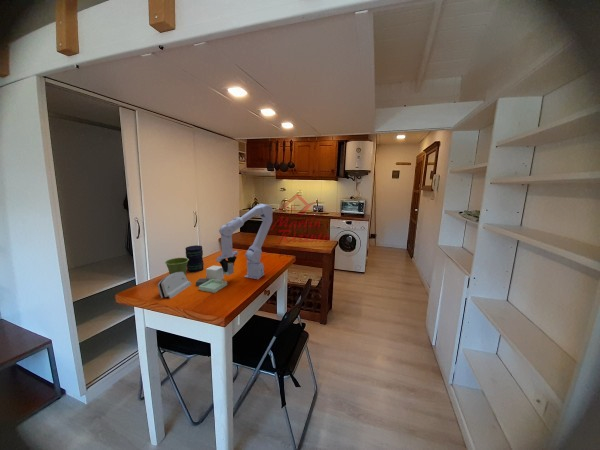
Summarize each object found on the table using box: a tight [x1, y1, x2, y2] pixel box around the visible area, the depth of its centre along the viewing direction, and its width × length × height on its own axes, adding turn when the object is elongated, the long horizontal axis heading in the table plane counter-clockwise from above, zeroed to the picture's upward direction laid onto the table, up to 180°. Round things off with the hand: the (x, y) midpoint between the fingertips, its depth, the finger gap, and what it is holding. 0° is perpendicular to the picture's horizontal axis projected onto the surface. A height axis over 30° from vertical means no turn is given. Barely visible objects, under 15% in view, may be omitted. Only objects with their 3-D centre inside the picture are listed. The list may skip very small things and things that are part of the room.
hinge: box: [157, 272, 192, 300], centre depth 114 cm, size 17×5×10 cm, turn 171°
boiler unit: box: [205, 265, 225, 281], centre depth 128 cm, size 8×6×7 cm
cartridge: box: [223, 262, 235, 276], centre depth 125 cm, size 4×4×6 cm
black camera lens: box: [184, 245, 205, 274], centre depth 142 cm, size 10×10×15 cm
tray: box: [198, 279, 228, 294], centre depth 118 cm, size 10×10×2 cm
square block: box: [195, 277, 209, 287], centre depth 122 cm, size 5×5×2 cm
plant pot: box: [164, 257, 189, 277], centre depth 127 cm, size 12×12×11 cm
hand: (228, 270), depth 125 cm, fingers closed on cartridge, 4 cm apart
